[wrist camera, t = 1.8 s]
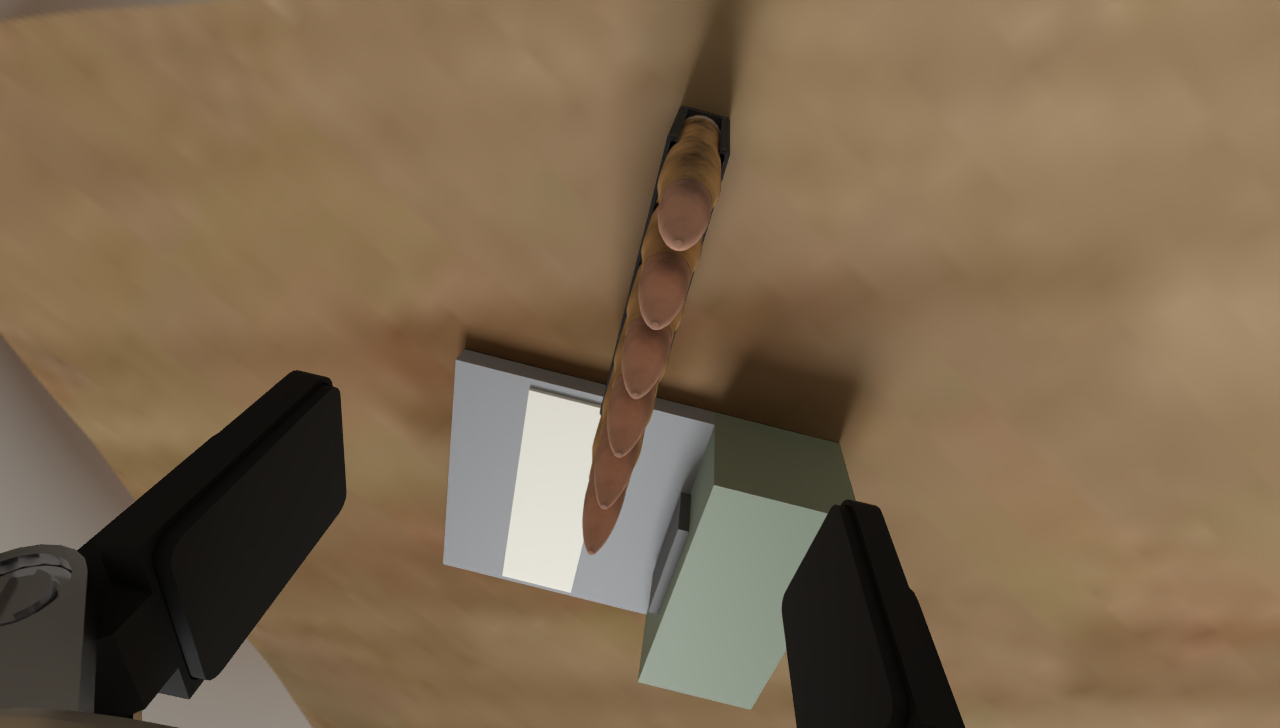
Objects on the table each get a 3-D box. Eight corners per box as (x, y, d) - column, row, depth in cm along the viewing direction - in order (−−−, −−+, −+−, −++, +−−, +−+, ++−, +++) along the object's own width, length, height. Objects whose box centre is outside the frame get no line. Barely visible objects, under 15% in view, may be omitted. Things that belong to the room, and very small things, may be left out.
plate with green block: (839, 443, 27) (861, 521, 23) (746, 624, 34) (750, 709, 30) (464, 349, 27) (415, 410, 23) (450, 550, 34) (411, 625, 30)
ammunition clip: (657, 365, 26) (617, 585, 16) (617, 355, 26) (551, 568, 16) (730, 118, 21) (741, 208, 10) (680, 104, 21) (641, 181, 10)
